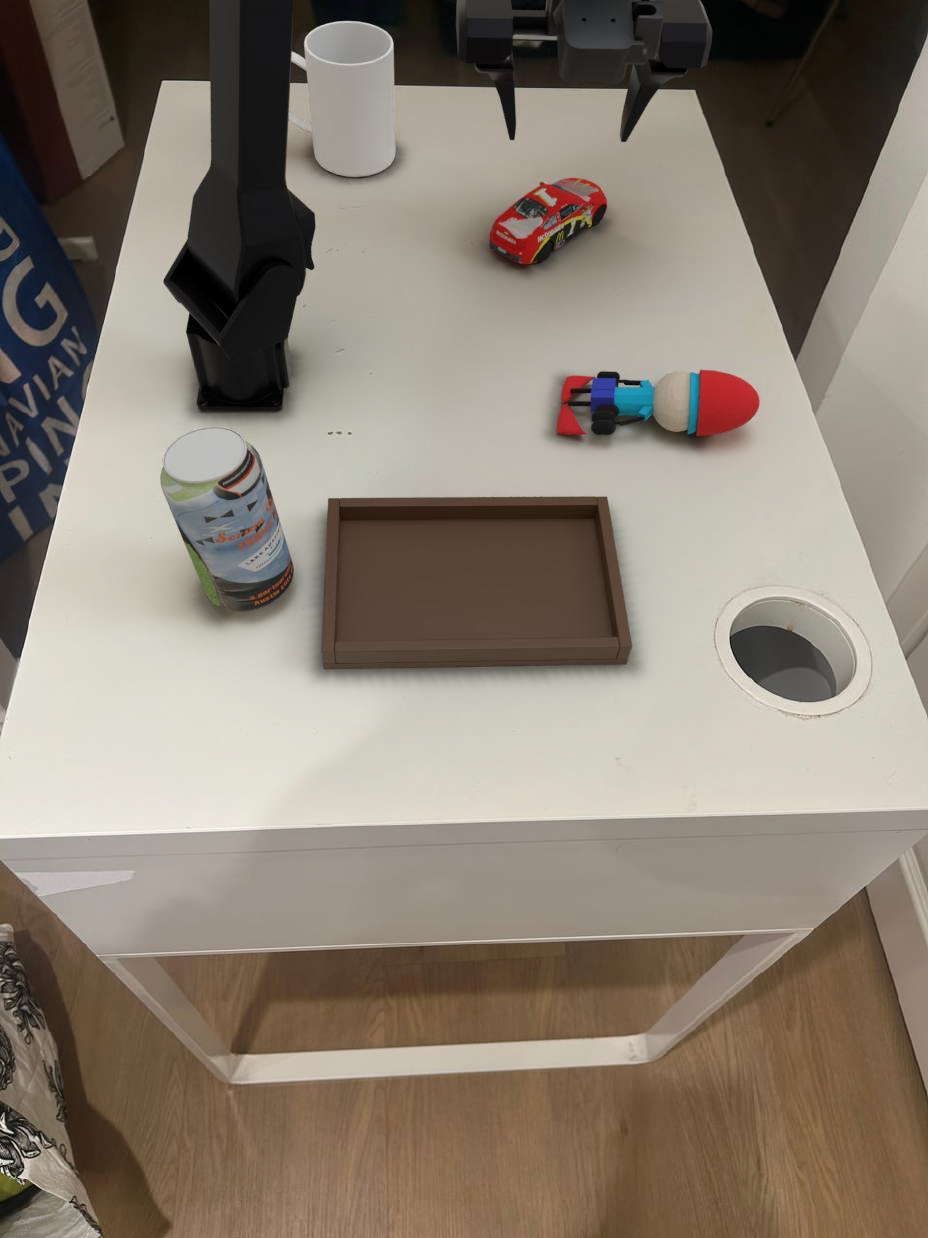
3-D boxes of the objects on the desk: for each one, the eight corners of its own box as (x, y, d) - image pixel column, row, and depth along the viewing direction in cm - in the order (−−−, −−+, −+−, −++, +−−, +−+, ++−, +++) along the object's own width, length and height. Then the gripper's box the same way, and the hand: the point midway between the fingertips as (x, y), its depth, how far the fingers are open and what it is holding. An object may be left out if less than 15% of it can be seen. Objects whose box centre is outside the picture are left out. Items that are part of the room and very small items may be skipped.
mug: (393, 132, 97) (391, 20, 89) (397, 177, 93) (395, 64, 84) (270, 133, 96) (256, 20, 88) (269, 179, 92) (253, 65, 83)
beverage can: (257, 638, 63) (228, 519, 53) (171, 587, 65) (127, 463, 55) (316, 573, 66) (298, 449, 56) (231, 527, 68) (200, 399, 58)
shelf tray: (323, 669, 62) (321, 651, 60) (330, 517, 69) (328, 497, 68) (626, 663, 63) (632, 646, 62) (602, 515, 70) (607, 495, 69)
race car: (571, 191, 93) (577, 151, 90) (616, 216, 91) (623, 176, 88) (477, 248, 87) (479, 207, 84) (522, 276, 85) (526, 235, 82)
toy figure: (556, 457, 75) (757, 459, 73) (553, 405, 72) (765, 406, 69) (565, 396, 80) (754, 396, 77) (563, 345, 76) (761, 343, 74)
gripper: (465, -31, 62) (457, 194, 75) (752, -24, 63) (695, 197, 76) (459, -104, 68) (452, 116, 81) (720, -96, 69) (673, 120, 82)
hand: (567, 138), depth 80 cm, fingers open, 9 cm apart
